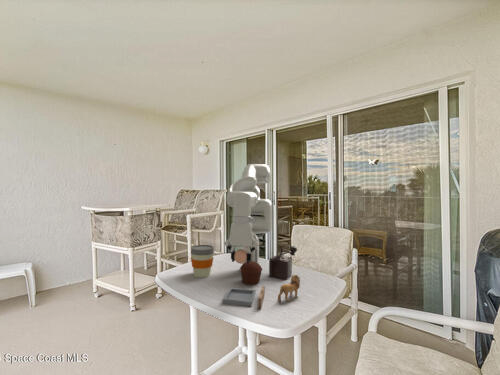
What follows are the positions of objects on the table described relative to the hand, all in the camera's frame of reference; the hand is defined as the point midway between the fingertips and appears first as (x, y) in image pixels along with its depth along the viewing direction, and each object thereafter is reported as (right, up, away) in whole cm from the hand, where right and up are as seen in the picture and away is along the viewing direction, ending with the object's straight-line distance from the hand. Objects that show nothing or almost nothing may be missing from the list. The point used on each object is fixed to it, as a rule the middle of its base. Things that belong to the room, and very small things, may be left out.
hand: (240, 261), depth 105 cm
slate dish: (0, -16, 0) cm, 16 cm away
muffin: (+4, -17, +19) cm, 26 cm away
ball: (0, -1, 0) cm, 1 cm away
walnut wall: (+9, -16, -3) cm, 19 cm away
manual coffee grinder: (+23, -17, +29) cm, 41 cm away
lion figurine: (+21, -17, +2) cm, 27 cm away
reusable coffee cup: (-23, -16, +28) cm, 39 cm away
